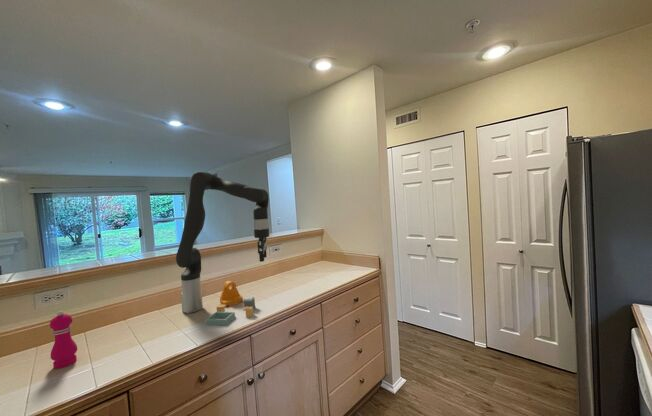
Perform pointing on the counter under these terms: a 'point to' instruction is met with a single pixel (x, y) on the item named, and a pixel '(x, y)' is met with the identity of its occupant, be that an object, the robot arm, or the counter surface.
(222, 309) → the clip left
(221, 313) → the tray
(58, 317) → the pepper mill
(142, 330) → the counter surface
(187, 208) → the robot arm
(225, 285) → the bracket
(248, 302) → the block
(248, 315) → the clip right
